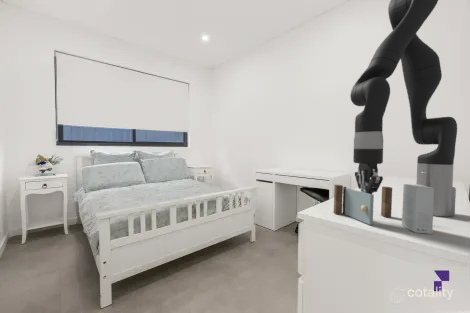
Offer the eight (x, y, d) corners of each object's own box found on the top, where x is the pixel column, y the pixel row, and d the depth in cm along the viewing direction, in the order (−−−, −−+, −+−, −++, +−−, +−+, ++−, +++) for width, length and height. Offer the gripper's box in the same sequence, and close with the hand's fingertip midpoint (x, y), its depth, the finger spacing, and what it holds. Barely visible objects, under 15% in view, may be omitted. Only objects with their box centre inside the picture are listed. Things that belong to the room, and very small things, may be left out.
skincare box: (433, 234, 55) (435, 187, 54) (414, 232, 55) (416, 187, 55) (418, 226, 60) (419, 184, 60) (400, 225, 61) (402, 183, 61)
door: (372, 224, 60) (373, 194, 60) (367, 224, 60) (368, 194, 60) (347, 213, 70) (348, 188, 70) (342, 214, 70) (343, 188, 70)
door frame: (387, 215, 70) (388, 186, 70) (391, 217, 68) (392, 187, 68) (333, 212, 73) (334, 184, 73) (335, 214, 71) (336, 185, 71)
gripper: (394, 147, 57) (393, 211, 58) (370, 147, 70) (369, 200, 71) (364, 147, 58) (363, 210, 59) (346, 147, 71) (345, 199, 72)
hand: (366, 204), depth 65 cm, fingers closed
